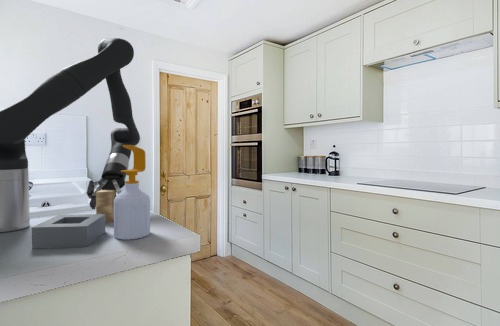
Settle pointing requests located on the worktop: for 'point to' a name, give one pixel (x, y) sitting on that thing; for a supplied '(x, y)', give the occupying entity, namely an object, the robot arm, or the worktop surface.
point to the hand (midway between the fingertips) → (104, 207)
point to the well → (68, 231)
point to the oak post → (105, 203)
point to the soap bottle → (132, 203)
